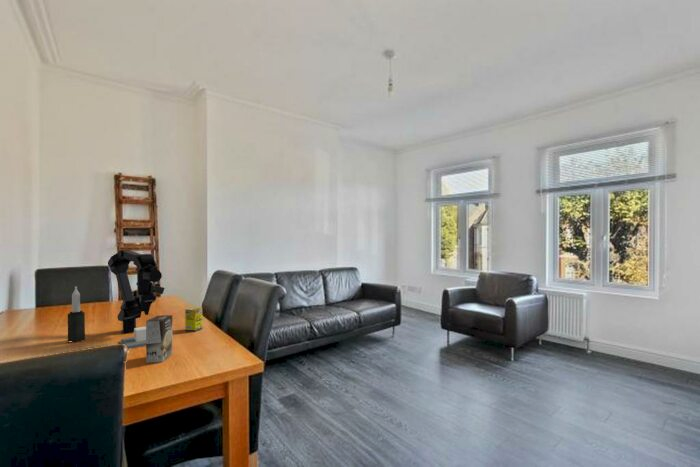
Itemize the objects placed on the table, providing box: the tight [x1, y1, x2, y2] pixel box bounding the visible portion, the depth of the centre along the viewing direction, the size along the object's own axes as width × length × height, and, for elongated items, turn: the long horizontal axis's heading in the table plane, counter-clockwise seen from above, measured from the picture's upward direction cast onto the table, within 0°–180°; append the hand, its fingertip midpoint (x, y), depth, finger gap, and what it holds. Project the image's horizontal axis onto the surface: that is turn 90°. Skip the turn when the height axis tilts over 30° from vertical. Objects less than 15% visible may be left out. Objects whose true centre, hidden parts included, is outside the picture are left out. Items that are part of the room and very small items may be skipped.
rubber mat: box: [120, 336, 146, 350], centre depth 159 cm, size 14×14×1 cm
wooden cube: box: [133, 325, 146, 342], centre depth 159 cm, size 5×5×5 cm
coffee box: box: [145, 314, 174, 364], centre depth 139 cm, size 9×6×16 cm
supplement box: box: [184, 306, 203, 333], centre depth 178 cm, size 6×6×11 cm
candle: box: [67, 286, 86, 343], centre depth 161 cm, size 5×5×25 cm
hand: (144, 313), depth 168 cm, fingers open, 9 cm apart
